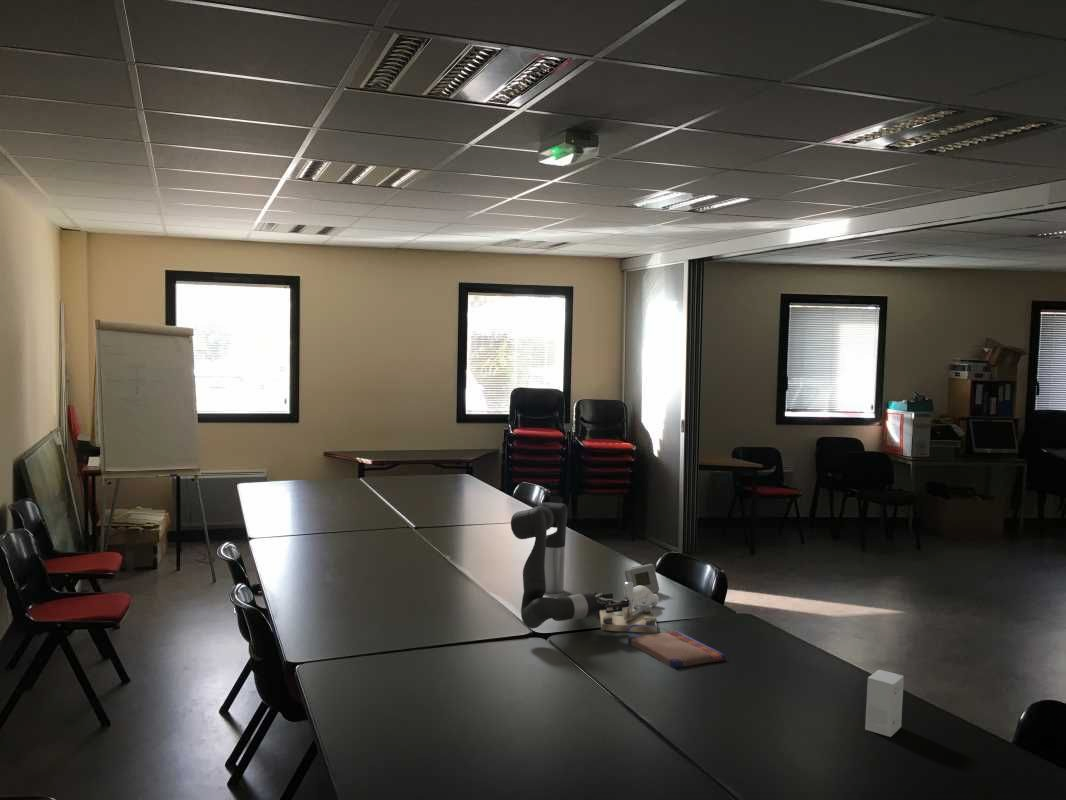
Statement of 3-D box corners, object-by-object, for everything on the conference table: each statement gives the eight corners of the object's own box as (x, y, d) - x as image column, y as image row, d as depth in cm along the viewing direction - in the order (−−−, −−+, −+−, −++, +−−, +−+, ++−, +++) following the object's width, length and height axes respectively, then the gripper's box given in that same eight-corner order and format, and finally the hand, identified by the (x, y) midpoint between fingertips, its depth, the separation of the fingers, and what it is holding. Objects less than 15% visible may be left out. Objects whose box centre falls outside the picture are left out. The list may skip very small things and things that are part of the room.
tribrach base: (601, 630, 277) (601, 619, 277) (599, 613, 295) (599, 603, 295) (657, 632, 277) (657, 622, 277) (651, 616, 295) (651, 606, 295)
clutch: (675, 672, 244) (727, 662, 254) (676, 655, 244) (728, 646, 253) (620, 641, 269) (669, 633, 278) (620, 626, 269) (670, 618, 278)
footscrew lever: (640, 607, 295) (641, 572, 295) (653, 610, 293) (655, 574, 292) (618, 619, 281) (619, 582, 280) (632, 622, 278) (633, 585, 278)
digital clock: (631, 600, 314) (632, 571, 313) (616, 594, 321) (617, 566, 321) (665, 595, 322) (666, 567, 322) (649, 589, 330) (650, 562, 330)
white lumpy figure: (629, 584, 304) (653, 582, 311) (626, 607, 304) (650, 605, 311) (641, 588, 299) (665, 586, 306) (638, 611, 299) (662, 610, 306)
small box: (875, 719, 214) (878, 668, 214) (901, 727, 210) (904, 675, 210) (864, 729, 208) (867, 677, 208) (891, 737, 204) (894, 684, 204)
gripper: (594, 600, 264) (634, 593, 273) (567, 588, 276) (607, 582, 284) (593, 624, 264) (633, 616, 273) (566, 611, 276) (606, 605, 285)
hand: (620, 599), depth 279 cm, fingers open, 8 cm apart
